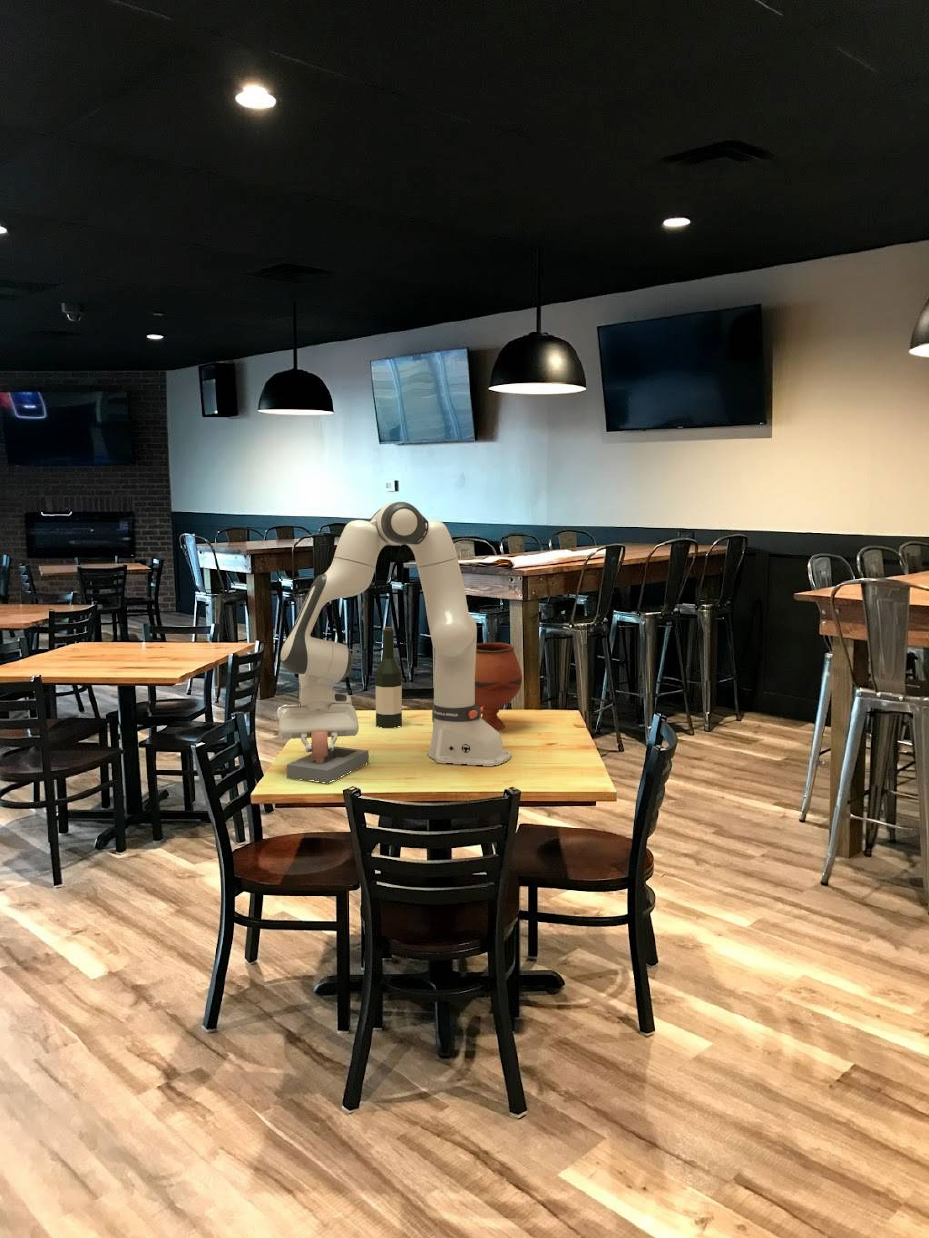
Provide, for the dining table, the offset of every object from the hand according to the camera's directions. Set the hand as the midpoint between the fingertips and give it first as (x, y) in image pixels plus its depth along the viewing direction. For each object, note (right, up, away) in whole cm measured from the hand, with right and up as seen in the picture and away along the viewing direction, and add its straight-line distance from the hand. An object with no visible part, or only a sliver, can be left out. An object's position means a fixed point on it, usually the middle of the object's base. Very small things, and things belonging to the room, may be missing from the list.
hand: (319, 750), depth 253 cm
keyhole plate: (+2, -6, +5) cm, 8 cm away
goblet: (+44, 0, +51) cm, 67 cm away
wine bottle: (+13, +1, +53) cm, 55 cm away
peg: (0, -6, +2) cm, 6 cm away
